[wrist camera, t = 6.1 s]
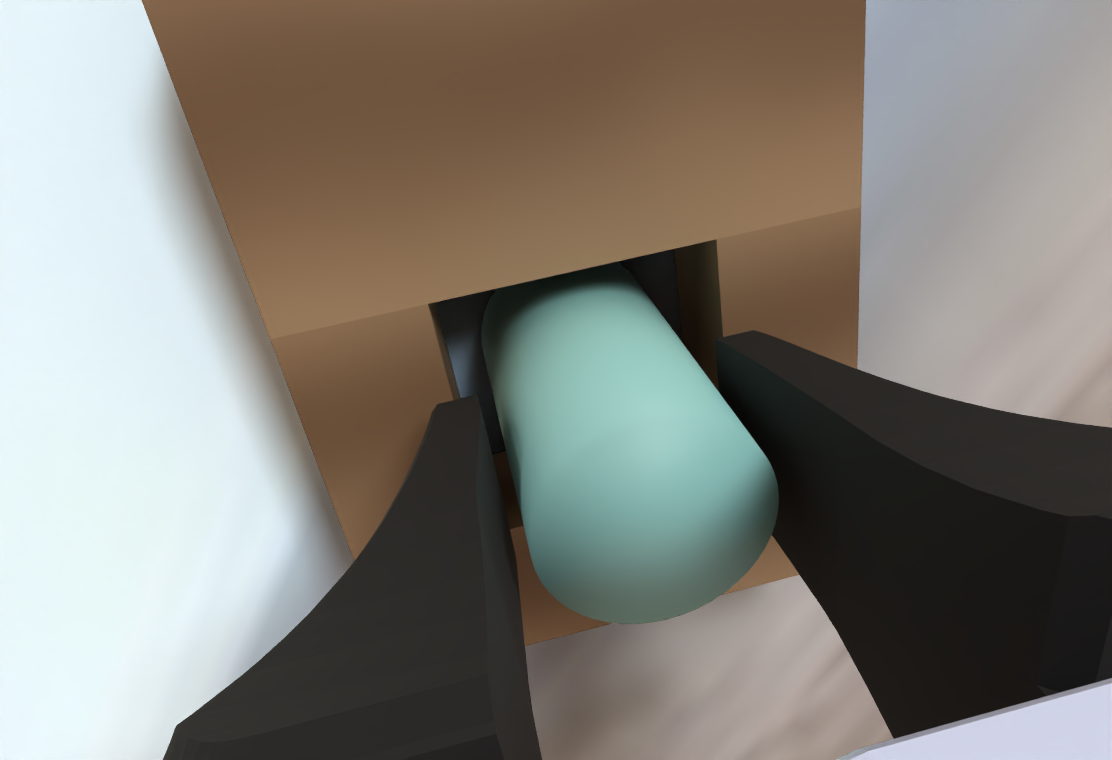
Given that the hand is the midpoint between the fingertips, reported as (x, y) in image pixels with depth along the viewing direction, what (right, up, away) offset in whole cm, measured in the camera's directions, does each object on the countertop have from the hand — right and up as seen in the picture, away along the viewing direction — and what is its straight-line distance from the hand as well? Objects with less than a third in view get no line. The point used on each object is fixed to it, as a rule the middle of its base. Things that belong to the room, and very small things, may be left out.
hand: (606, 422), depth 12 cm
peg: (-1, +2, +3) cm, 3 cm away
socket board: (-1, +2, +2) cm, 3 cm away
